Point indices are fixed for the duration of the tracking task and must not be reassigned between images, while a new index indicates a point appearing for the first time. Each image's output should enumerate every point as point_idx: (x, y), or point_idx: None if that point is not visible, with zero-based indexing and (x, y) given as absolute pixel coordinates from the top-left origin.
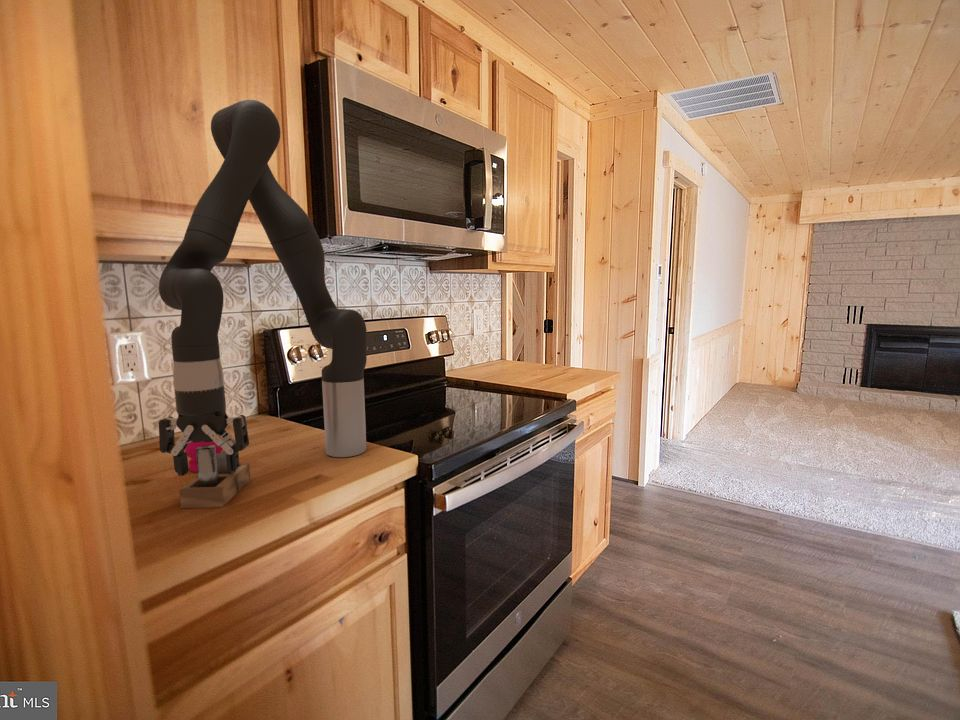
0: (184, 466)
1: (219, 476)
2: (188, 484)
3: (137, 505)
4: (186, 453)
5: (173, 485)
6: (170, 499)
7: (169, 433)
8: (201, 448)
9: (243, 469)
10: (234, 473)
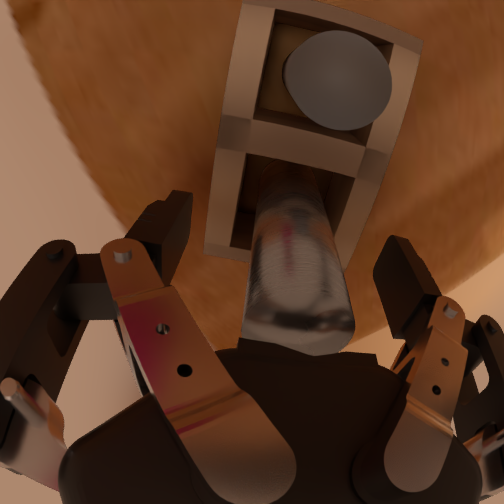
0: (181, 235)
1: (322, 166)
2: (218, 220)
3: (87, 171)
4: (164, 245)
5: (114, 31)
6: (153, 144)
7: (45, 373)
8: (277, 343)
9: (406, 97)
10: (379, 151)
